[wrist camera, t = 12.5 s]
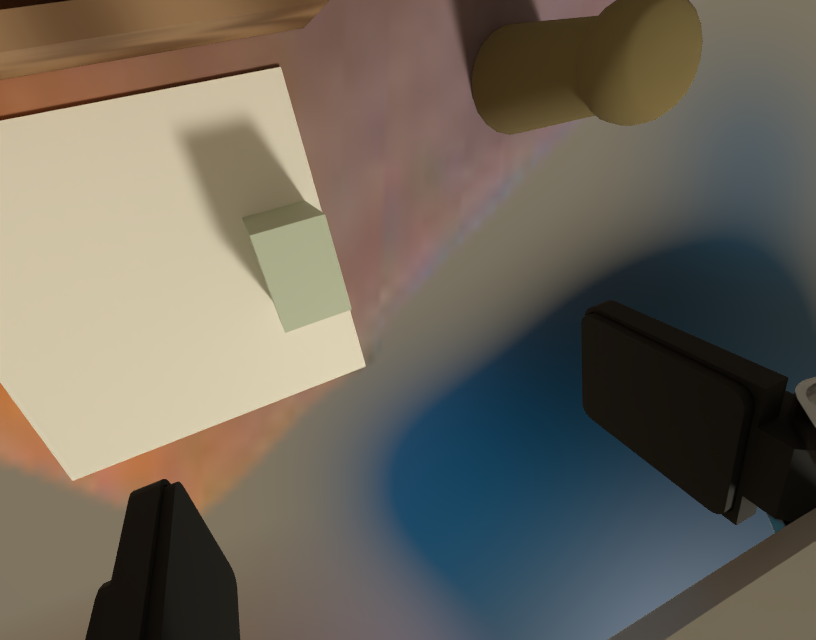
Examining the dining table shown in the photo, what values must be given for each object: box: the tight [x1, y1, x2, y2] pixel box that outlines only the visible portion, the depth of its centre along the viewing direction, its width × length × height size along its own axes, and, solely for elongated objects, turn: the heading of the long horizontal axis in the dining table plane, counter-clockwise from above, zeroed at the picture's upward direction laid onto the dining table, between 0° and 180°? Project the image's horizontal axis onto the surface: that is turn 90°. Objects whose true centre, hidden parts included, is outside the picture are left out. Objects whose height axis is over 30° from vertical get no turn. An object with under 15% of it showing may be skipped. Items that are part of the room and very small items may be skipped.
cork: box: [471, 0, 703, 135], centre depth 23 cm, size 6×6×11 cm
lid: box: [0, 67, 366, 481], centre depth 22 cm, size 18×18×6 cm
